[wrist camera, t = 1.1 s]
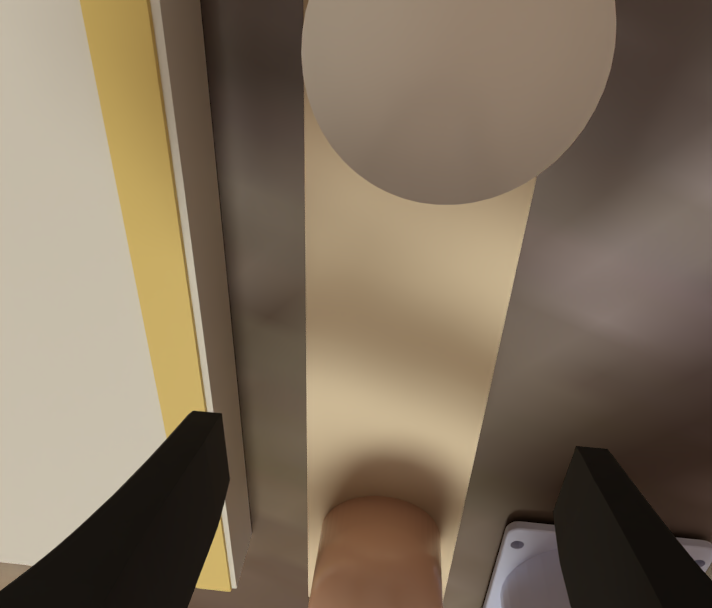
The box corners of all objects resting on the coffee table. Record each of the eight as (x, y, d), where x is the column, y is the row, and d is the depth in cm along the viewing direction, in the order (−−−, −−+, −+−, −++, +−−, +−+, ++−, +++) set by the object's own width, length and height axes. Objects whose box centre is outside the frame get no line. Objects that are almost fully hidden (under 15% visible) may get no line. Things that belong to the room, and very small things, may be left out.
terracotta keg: (433, 577, 20) (436, 703, 17) (321, 565, 21) (301, 687, 17) (447, 502, 18) (453, 629, 15) (321, 489, 18) (299, 611, 15)
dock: (251, 533, 25) (235, 592, 23) (9, 508, 26) (-29, 562, 24) (170, -312, 11) (106, -374, 9) (-364, -324, 12) (-552, -385, 9)
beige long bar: (437, 530, 25) (440, 611, 22) (321, 518, 25) (308, 596, 22) (581, -223, 11) (636, -276, 8) (330, -231, 12) (300, -285, 9)
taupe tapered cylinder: (529, 132, 12) (574, 212, 8) (336, 122, 12) (304, 196, 9) (576, -108, 10) (659, -126, 6) (337, -114, 10) (296, -136, 7)
